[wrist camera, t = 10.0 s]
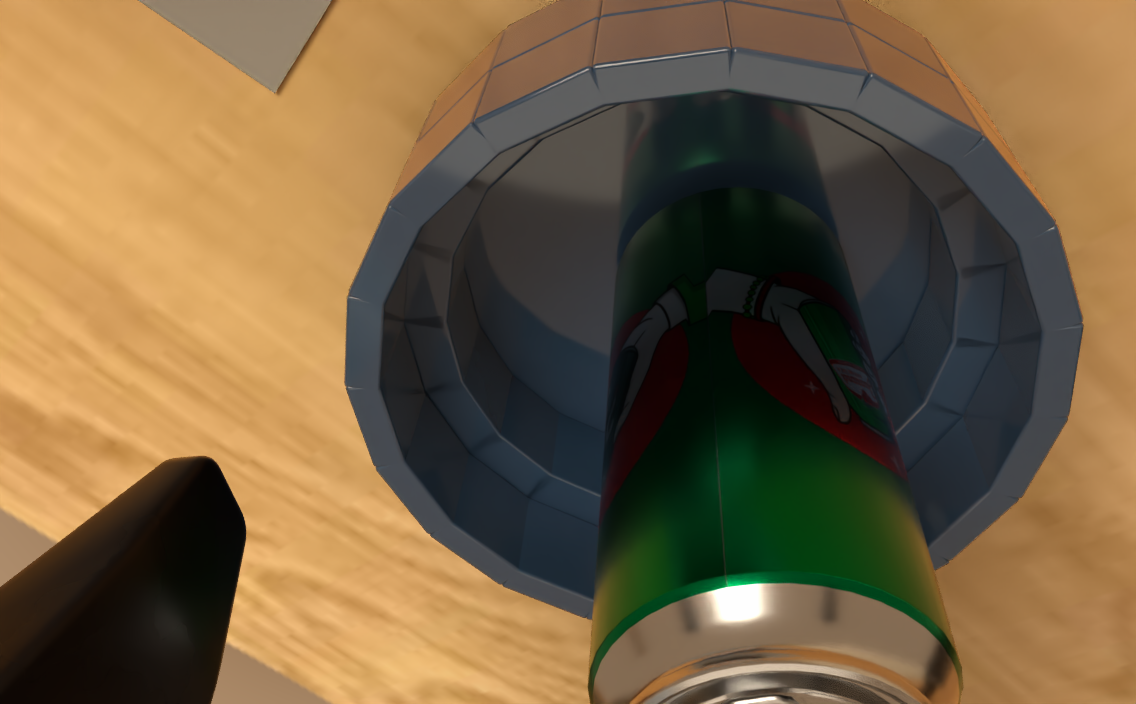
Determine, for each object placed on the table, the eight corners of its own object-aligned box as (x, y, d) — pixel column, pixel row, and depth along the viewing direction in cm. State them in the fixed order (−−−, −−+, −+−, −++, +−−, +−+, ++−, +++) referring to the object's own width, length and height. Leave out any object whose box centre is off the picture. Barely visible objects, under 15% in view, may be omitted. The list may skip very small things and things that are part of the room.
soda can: (652, 386, 25) (647, 885, 15) (585, 210, 22) (526, 680, 12) (862, 339, 23) (1005, 850, 14) (819, 144, 21) (957, 612, 11)
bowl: (1034, -92, 18) (1139, -7, 14) (979, 462, 26) (1037, 619, 22) (325, 11, 20) (242, 111, 16) (469, 496, 28) (438, 645, 24)
